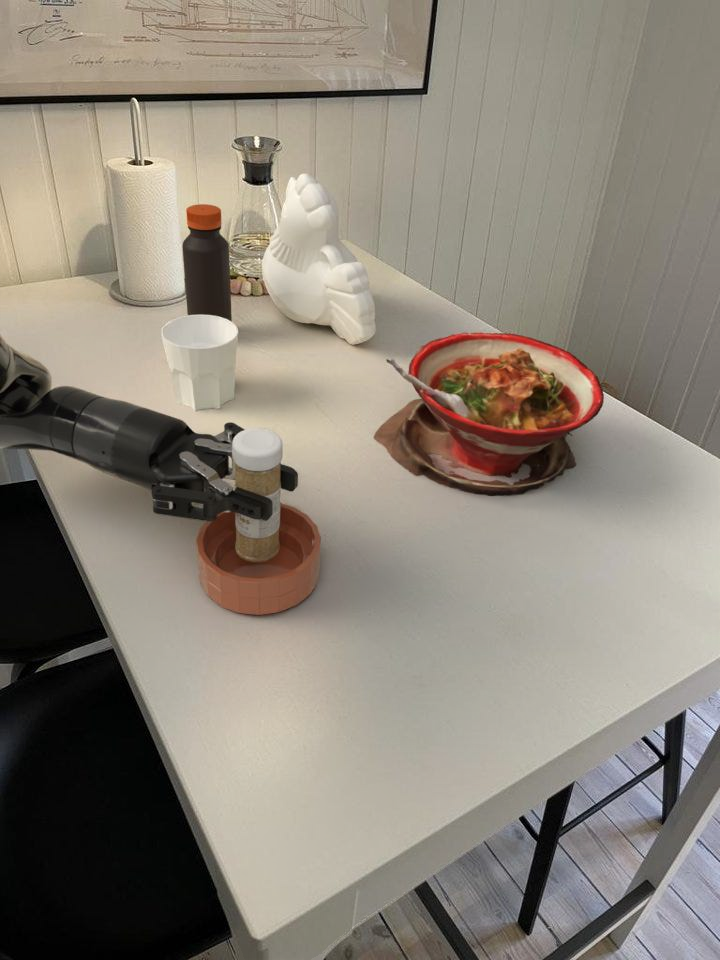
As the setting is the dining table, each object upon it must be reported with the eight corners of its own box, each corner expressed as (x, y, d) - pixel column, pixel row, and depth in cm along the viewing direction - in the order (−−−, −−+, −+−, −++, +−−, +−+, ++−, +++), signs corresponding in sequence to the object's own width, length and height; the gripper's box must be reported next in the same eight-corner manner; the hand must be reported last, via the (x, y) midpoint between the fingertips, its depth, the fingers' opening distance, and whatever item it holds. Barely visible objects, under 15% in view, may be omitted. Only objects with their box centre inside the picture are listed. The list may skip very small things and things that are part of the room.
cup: (170, 417, 101) (163, 351, 95) (165, 380, 108) (158, 316, 102) (245, 411, 103) (243, 345, 97) (234, 375, 111) (232, 312, 105)
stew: (389, 519, 87) (403, 399, 77) (358, 408, 106) (366, 301, 96) (615, 508, 91) (655, 394, 82) (547, 404, 110) (573, 301, 100)
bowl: (259, 638, 71) (259, 601, 68) (175, 576, 77) (171, 540, 74) (342, 572, 79) (345, 537, 76) (259, 521, 85) (259, 486, 82)
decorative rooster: (251, 256, 131) (246, 164, 107) (337, 235, 133) (351, 141, 109) (295, 386, 126) (300, 320, 102) (383, 361, 129) (409, 292, 105)
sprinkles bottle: (226, 544, 76) (222, 434, 68) (265, 528, 79) (265, 420, 70) (250, 571, 74) (248, 460, 65) (289, 554, 76) (292, 444, 68)
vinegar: (182, 331, 121) (172, 205, 109) (221, 323, 124) (215, 199, 112) (199, 349, 116) (190, 219, 104) (239, 340, 120) (235, 213, 108)
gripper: (78, 448, 68) (243, 507, 63) (172, 380, 78) (319, 426, 74) (90, 512, 72) (245, 572, 67) (177, 439, 83) (316, 486, 78)
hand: (283, 495), depth 71 cm, fingers closed on sprinkles bottle, 4 cm apart
